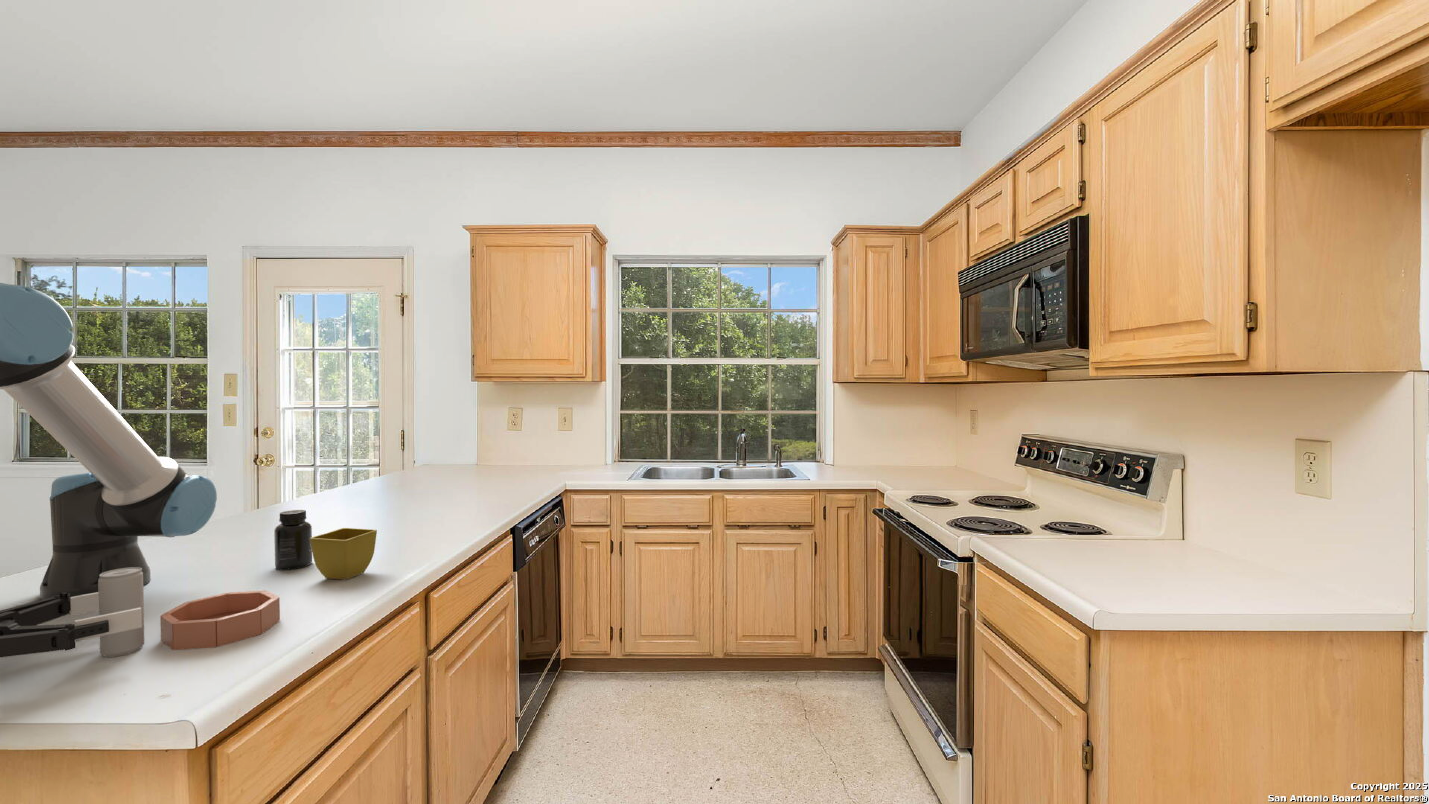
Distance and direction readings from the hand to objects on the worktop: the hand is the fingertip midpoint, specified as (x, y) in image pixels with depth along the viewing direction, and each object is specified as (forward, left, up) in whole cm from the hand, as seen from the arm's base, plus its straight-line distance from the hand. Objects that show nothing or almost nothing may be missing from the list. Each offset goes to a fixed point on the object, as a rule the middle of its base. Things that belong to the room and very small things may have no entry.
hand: (136, 605), depth 92 cm
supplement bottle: (+3, +42, -7) cm, 43 cm away
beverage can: (-1, -1, -7) cm, 7 cm away
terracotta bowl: (+9, +5, -7) cm, 12 cm away
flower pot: (+17, +32, -7) cm, 37 cm away
